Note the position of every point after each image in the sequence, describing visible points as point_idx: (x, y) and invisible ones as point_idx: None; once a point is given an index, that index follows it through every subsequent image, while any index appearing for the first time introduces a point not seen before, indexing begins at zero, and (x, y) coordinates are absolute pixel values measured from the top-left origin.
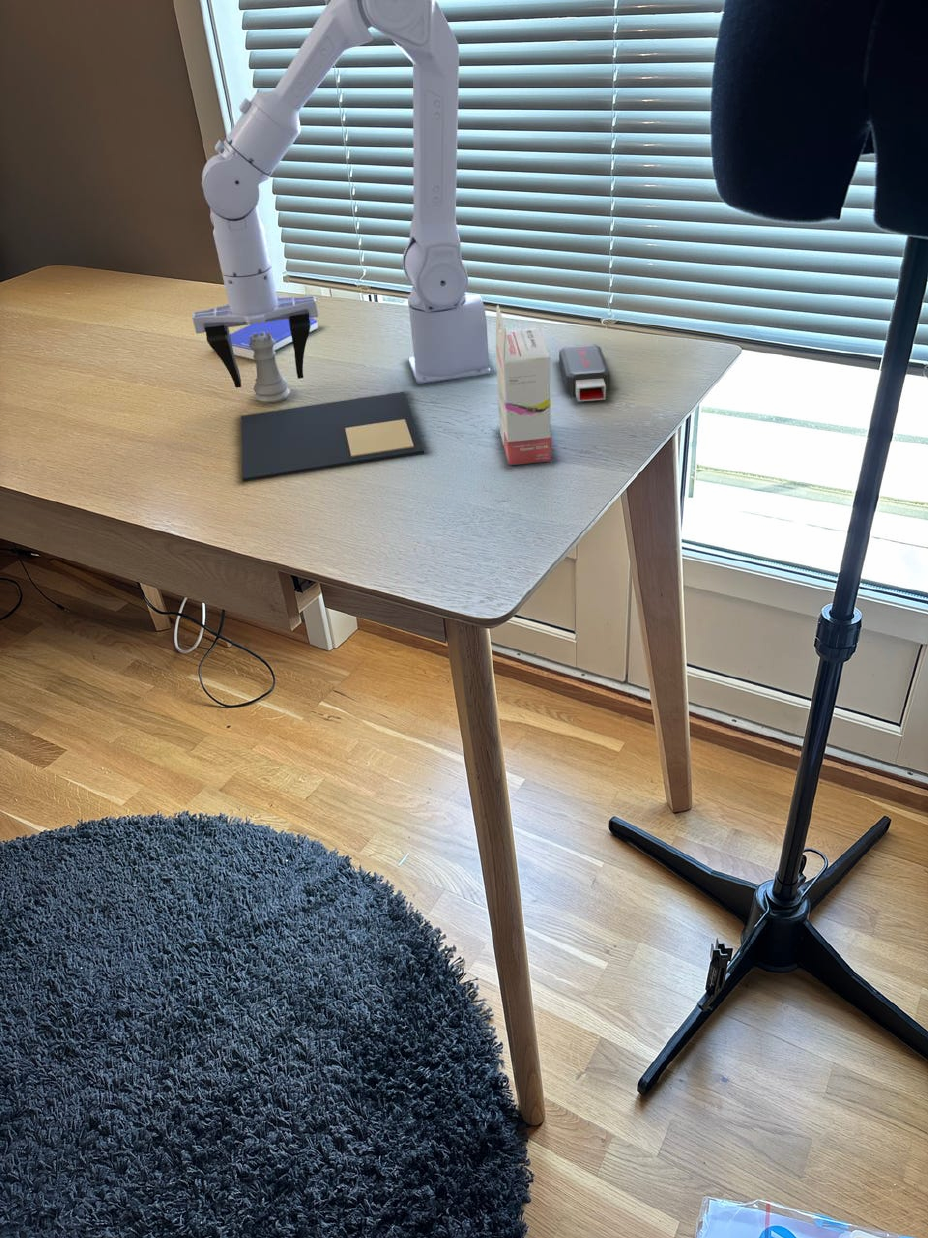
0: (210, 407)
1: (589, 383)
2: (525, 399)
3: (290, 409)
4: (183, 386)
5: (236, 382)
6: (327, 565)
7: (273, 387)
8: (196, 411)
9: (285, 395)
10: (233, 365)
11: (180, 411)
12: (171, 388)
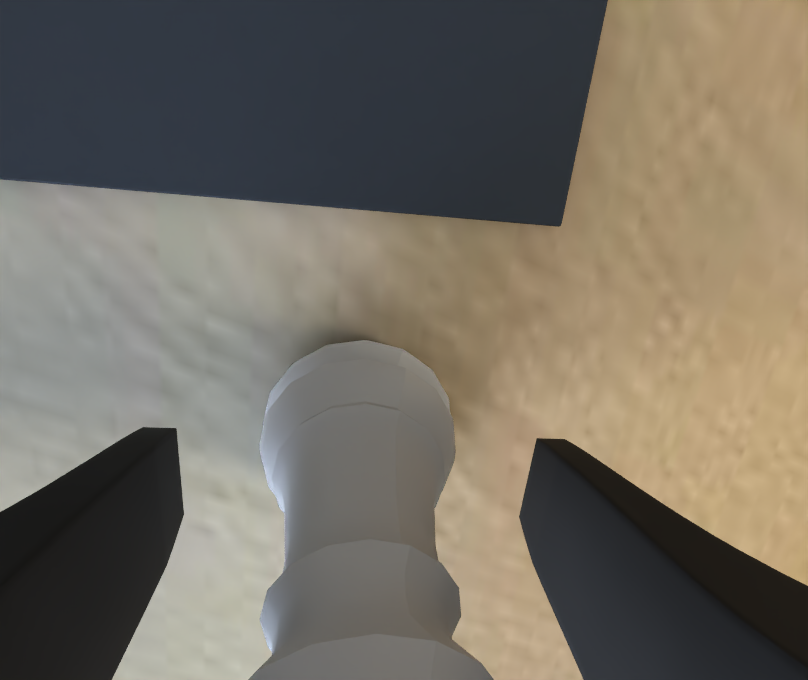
0: (654, 417)
1: None
2: None
3: (272, 185)
4: None
5: (574, 448)
6: None
7: (347, 387)
8: (719, 400)
9: (290, 371)
10: (637, 523)
11: (777, 425)
12: None
